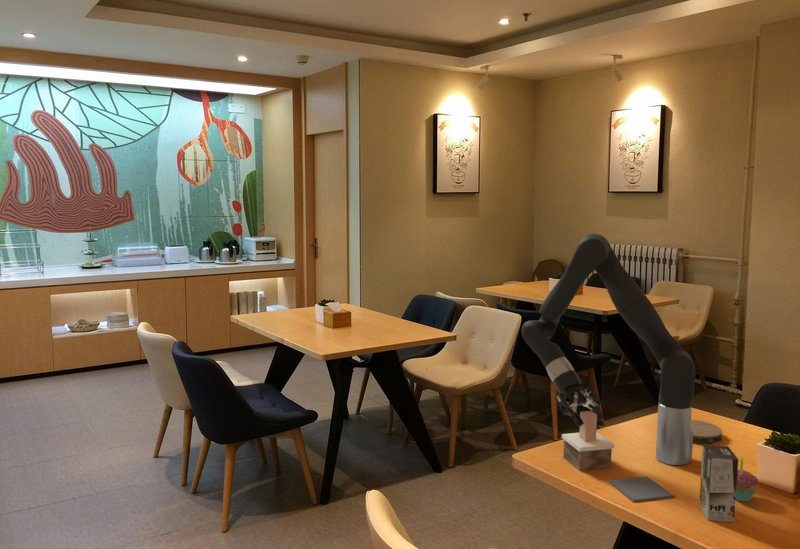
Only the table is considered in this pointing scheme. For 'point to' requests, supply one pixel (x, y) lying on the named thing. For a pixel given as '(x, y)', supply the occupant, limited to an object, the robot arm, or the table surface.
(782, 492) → the table surface
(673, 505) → the table surface
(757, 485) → the cupcake
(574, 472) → the table surface
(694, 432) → the tin can
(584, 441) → the lid
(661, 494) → the mat
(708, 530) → the table surface
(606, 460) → the box
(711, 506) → the coffee box
